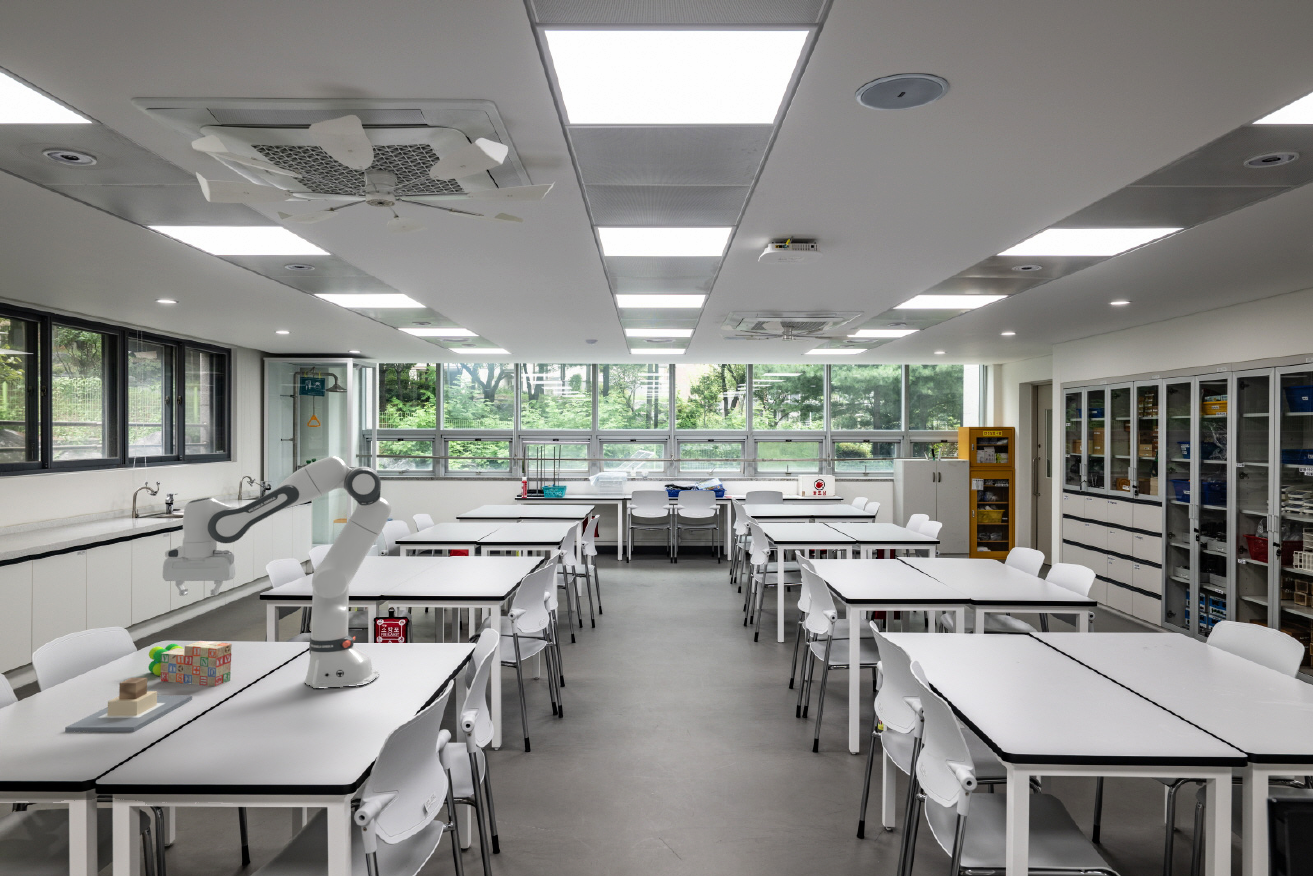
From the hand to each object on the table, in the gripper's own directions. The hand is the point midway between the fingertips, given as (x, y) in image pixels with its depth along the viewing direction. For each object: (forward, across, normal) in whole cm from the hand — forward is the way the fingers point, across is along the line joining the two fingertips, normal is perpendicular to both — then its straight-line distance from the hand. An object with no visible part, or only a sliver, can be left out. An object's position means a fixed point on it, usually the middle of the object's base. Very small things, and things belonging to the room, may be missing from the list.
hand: (199, 595), depth 212 cm
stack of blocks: (+31, +9, -14) cm, 35 cm away
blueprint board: (+31, +8, +16) cm, 35 cm away
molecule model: (+31, +24, -22) cm, 45 cm away
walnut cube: (+25, +8, +16) cm, 31 cm away
